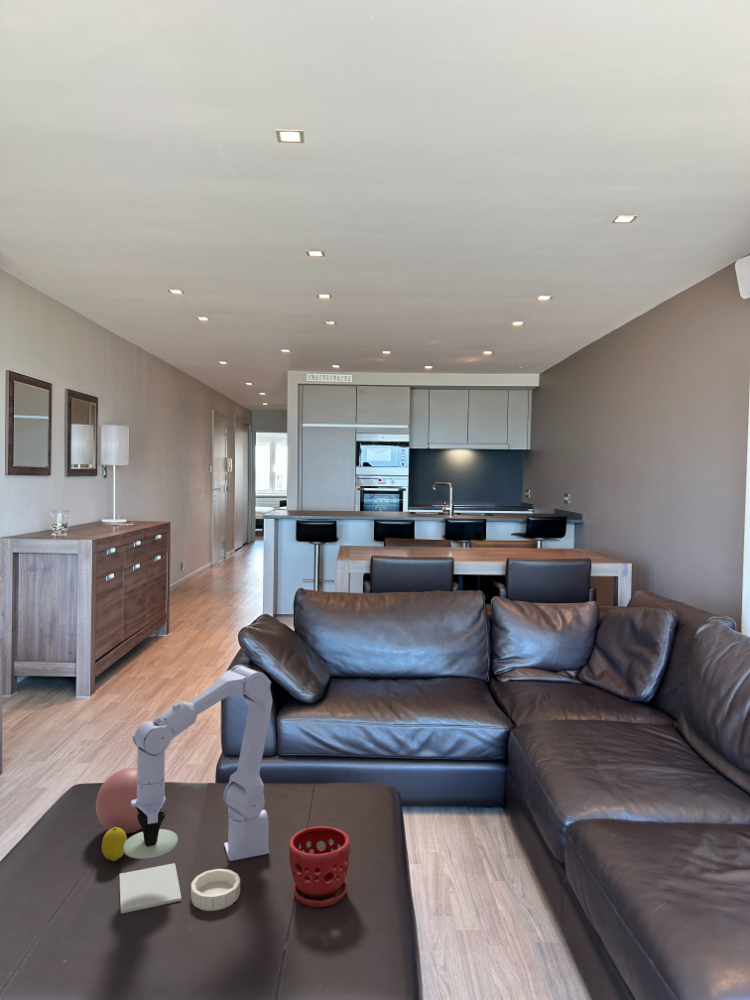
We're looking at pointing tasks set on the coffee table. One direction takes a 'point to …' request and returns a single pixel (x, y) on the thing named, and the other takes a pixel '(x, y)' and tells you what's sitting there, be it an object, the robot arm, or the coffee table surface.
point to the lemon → (114, 843)
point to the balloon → (119, 801)
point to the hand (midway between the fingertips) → (150, 840)
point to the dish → (215, 889)
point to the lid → (140, 851)
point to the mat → (149, 888)
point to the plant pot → (319, 865)
